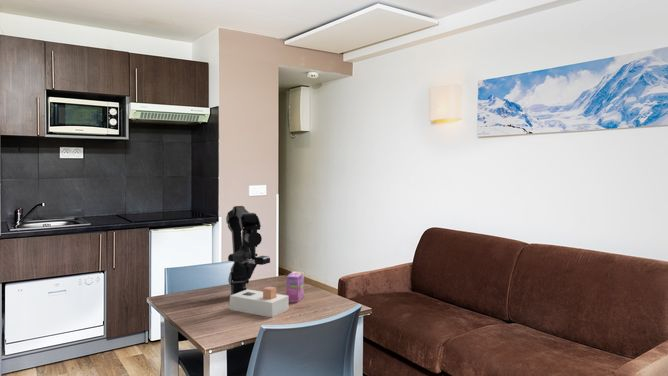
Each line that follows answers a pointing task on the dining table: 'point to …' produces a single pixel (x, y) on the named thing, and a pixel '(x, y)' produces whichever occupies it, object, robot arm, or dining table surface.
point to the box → (295, 286)
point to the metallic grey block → (248, 294)
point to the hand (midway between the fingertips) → (248, 278)
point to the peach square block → (269, 292)
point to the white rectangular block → (259, 303)
